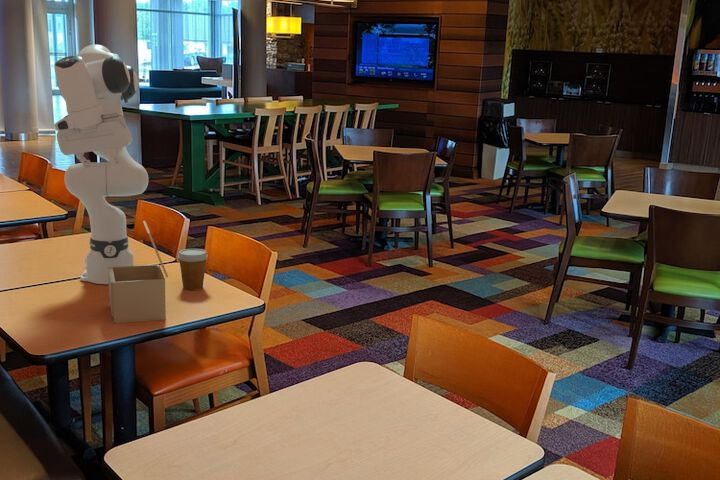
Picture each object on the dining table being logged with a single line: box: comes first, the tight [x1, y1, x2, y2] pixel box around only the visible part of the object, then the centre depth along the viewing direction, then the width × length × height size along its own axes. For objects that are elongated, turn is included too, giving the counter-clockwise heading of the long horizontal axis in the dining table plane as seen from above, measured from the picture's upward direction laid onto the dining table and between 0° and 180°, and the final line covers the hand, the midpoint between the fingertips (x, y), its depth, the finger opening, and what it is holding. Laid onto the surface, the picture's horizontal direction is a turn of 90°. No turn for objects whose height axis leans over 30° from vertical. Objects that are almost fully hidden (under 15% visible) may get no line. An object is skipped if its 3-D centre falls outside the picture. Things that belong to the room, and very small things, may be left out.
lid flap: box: [142, 220, 169, 279], centre depth 218 cm, size 16×14×1 cm
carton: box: [108, 264, 167, 324], centre depth 219 cm, size 16×15×12 cm
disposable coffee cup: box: [177, 248, 209, 291], centre depth 244 cm, size 10×10×12 cm
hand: (103, 164), depth 210 cm, fingers open, 8 cm apart
